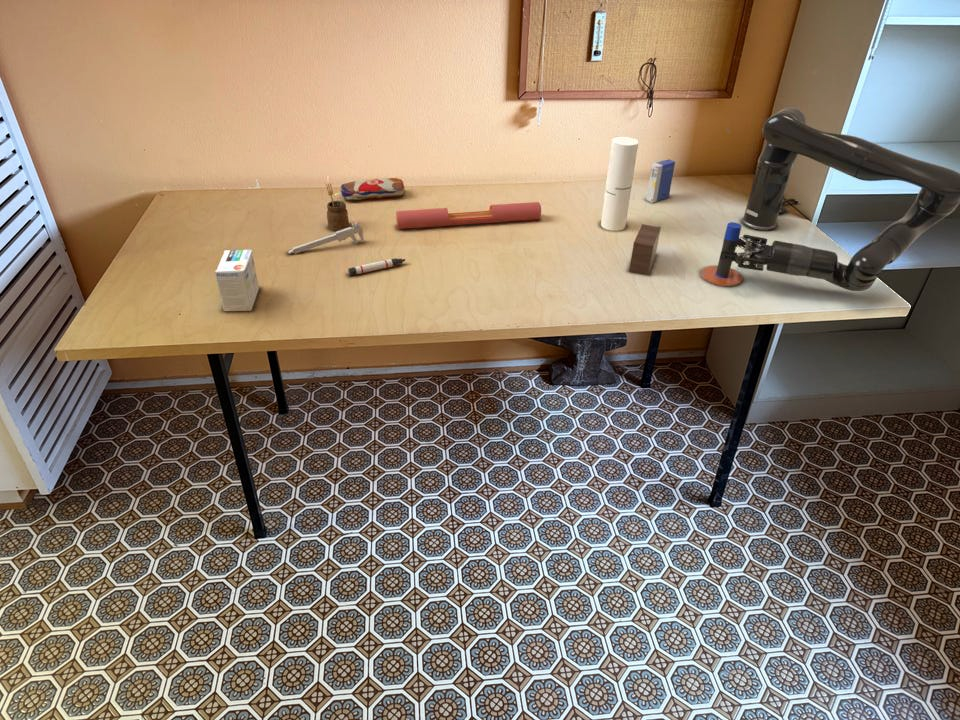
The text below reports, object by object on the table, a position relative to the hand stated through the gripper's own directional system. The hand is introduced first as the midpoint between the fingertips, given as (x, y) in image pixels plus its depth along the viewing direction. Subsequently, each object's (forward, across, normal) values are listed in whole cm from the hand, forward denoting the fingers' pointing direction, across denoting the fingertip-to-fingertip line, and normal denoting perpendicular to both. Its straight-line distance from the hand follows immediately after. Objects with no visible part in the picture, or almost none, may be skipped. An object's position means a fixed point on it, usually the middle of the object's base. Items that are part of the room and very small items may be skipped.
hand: (722, 247), depth 178 cm
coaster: (-2, 0, -8) cm, 8 cm away
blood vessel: (+70, +4, -9) cm, 71 cm away
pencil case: (+105, +10, -9) cm, 106 cm away
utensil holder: (+104, -13, -9) cm, 105 cm away
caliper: (+100, -25, -9) cm, 104 cm away
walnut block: (+19, 0, -8) cm, 21 cm away
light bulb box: (+105, -57, -9) cm, 120 cm away
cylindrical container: (+31, +19, -8) cm, 38 cm away
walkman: (+22, +44, -8) cm, 50 cm away
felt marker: (-2, 0, -1) cm, 2 cm away
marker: (+82, -31, -8) cm, 88 cm away
